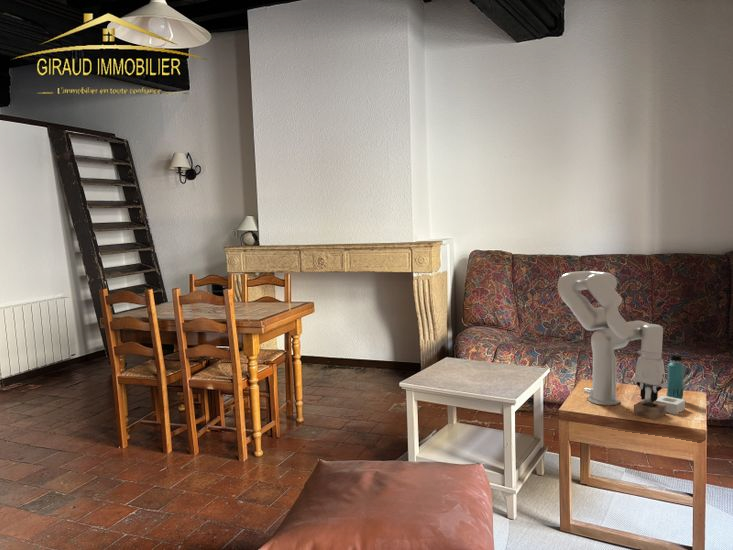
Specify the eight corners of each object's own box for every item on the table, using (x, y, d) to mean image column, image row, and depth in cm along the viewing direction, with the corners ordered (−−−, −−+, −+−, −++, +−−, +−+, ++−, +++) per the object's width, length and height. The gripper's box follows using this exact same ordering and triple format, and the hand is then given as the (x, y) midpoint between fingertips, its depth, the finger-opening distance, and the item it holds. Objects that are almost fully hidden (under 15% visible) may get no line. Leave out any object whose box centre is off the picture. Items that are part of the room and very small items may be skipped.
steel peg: (642, 411, 246) (643, 384, 245) (645, 409, 248) (647, 382, 247) (650, 413, 244) (652, 386, 242) (654, 411, 246) (655, 384, 245)
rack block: (653, 409, 252) (653, 400, 251) (662, 404, 258) (662, 395, 258) (676, 414, 245) (676, 404, 245) (684, 409, 251) (685, 399, 251)
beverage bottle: (671, 403, 260) (672, 356, 258) (663, 398, 266) (664, 353, 265) (686, 402, 260) (688, 356, 258) (677, 398, 267) (679, 353, 265)
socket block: (633, 414, 246) (633, 404, 245) (643, 409, 252) (643, 400, 252) (656, 419, 239) (656, 409, 239) (665, 414, 245) (666, 404, 245)
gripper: (626, 353, 247) (624, 397, 249) (669, 360, 235) (666, 407, 237) (634, 350, 252) (632, 393, 254) (676, 357, 240) (673, 402, 242)
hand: (648, 399), depth 246 cm, fingers closed on steel peg, 3 cm apart
